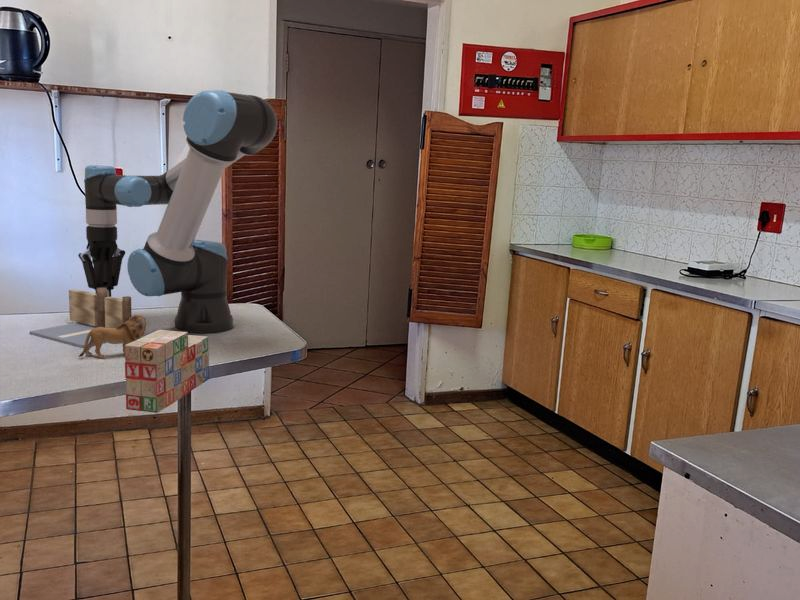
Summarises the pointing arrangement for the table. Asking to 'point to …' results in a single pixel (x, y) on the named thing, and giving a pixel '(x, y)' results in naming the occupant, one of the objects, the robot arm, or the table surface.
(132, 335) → the lion figurine
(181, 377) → the stack of blocks
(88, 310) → the hinged fence panel
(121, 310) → the fence post and fixed section
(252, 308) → the table surface
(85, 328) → the card
